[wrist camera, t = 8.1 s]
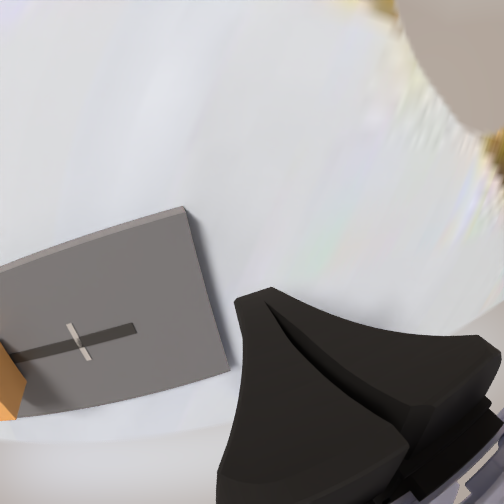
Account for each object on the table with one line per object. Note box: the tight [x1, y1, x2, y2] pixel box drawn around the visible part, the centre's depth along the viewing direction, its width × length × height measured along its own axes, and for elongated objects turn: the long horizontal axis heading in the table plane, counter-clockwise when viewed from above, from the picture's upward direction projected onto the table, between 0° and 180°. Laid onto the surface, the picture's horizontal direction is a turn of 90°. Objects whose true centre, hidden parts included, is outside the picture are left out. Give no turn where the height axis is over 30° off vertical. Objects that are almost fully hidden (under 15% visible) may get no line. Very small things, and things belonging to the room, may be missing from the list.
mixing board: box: [0, 206, 231, 418], centre depth 16 cm, size 12×24×2 cm, turn 100°
